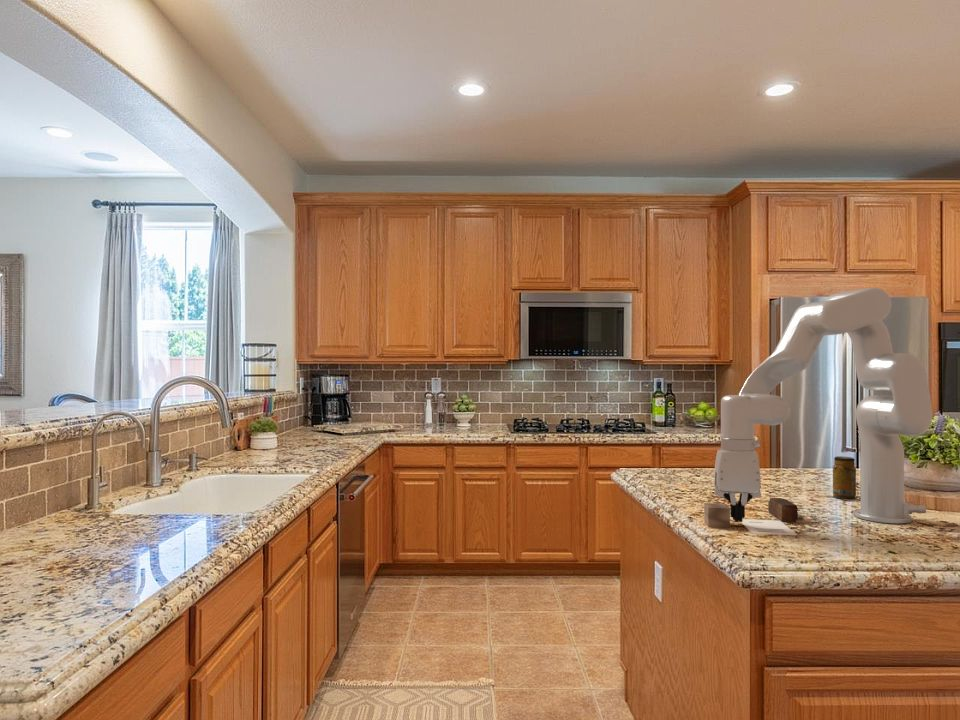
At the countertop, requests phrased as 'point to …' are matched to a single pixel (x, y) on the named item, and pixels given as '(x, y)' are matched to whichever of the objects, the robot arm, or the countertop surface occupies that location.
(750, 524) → the letter
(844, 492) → the condiment
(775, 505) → the brick
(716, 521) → the walnut block
